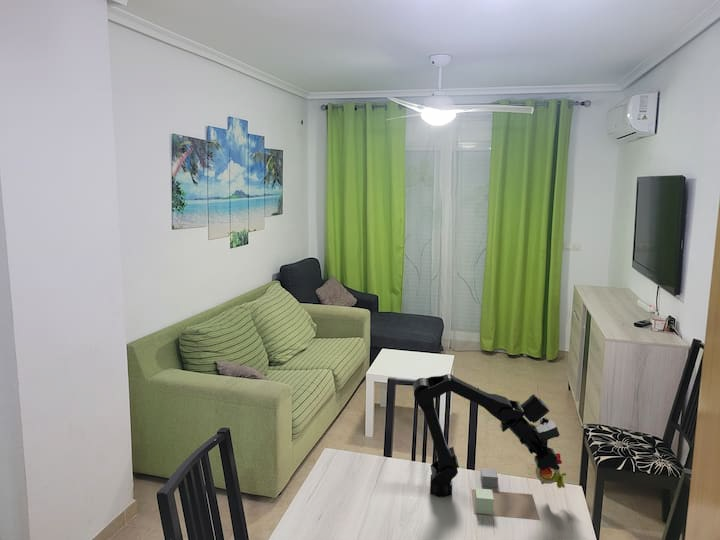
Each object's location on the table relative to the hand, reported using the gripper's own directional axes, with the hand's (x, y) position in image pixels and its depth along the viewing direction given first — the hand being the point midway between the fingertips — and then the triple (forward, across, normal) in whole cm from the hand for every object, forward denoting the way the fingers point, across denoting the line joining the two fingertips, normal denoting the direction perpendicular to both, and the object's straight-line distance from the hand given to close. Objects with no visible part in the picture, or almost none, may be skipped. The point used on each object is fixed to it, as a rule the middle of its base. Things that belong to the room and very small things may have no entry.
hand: (556, 465), depth 170 cm
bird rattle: (+4, 0, +6) cm, 7 cm away
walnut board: (-3, -5, +20) cm, 21 cm away
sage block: (-9, -8, +24) cm, 27 cm away
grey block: (-4, +7, +22) cm, 24 cm away
